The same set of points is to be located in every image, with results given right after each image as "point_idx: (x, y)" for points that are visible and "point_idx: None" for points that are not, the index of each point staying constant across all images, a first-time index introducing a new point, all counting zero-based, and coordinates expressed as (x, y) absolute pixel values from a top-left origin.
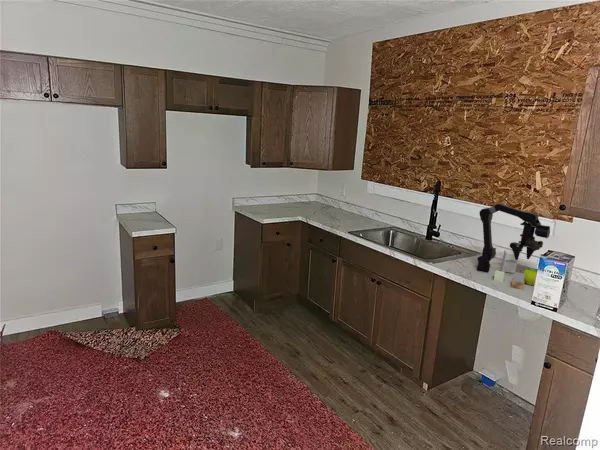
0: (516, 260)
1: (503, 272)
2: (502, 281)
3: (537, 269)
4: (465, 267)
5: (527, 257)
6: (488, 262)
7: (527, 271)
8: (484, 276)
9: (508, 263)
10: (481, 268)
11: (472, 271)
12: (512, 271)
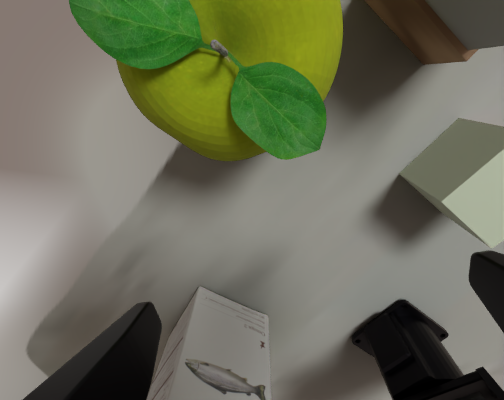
0: (180, 383)
1: (473, 188)
2: (466, 122)
3: (132, 15)
4: (467, 370)
5: (149, 343)
6: (432, 377)
7: (322, 32)
8: None
9: (243, 364)
10: (437, 337)
11: (489, 318)
12: (213, 299)
